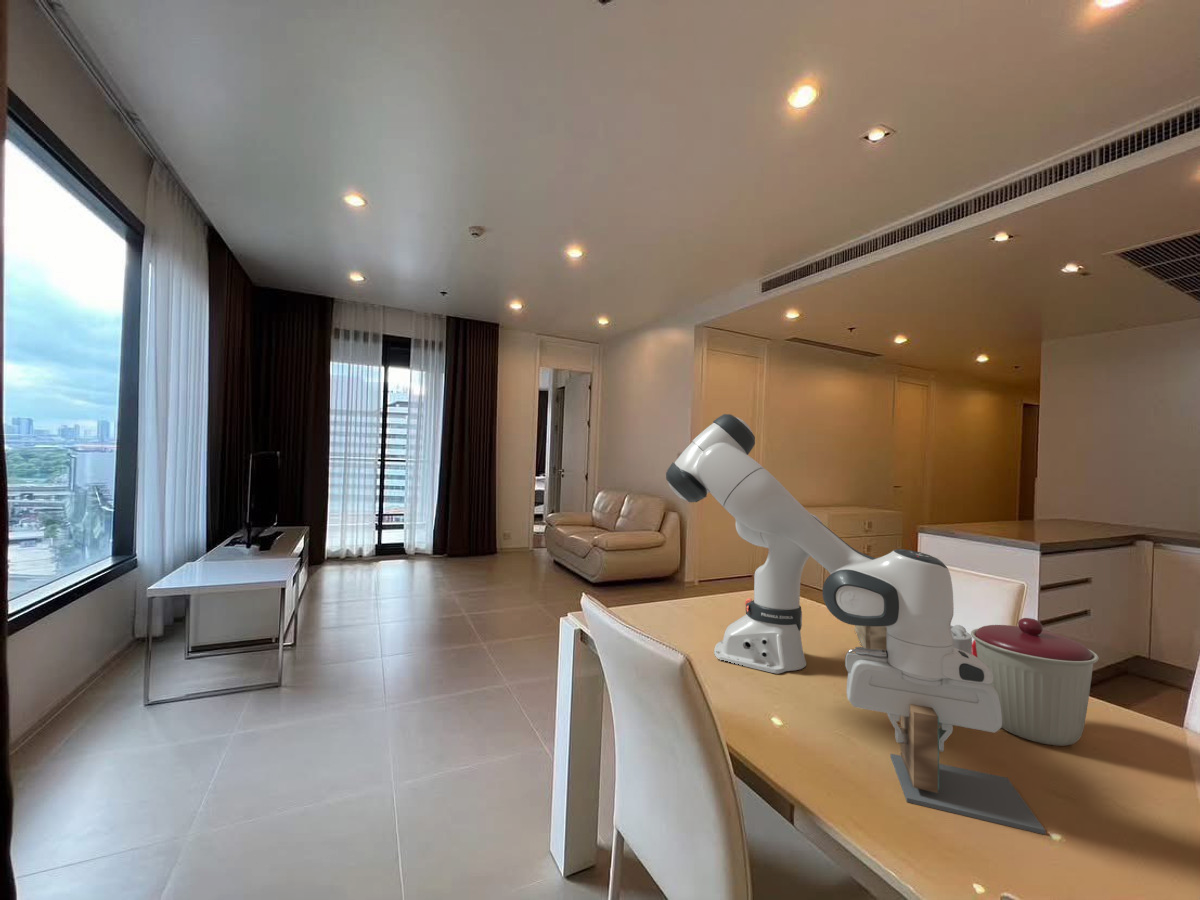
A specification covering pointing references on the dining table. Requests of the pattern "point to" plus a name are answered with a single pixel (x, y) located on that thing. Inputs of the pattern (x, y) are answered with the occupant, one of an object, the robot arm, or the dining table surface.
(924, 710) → the walnut slab
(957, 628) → the lumpy-topped squat cylinder
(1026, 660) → the canister
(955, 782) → the rubber mat
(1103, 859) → the dining table surface
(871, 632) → the birch crate
